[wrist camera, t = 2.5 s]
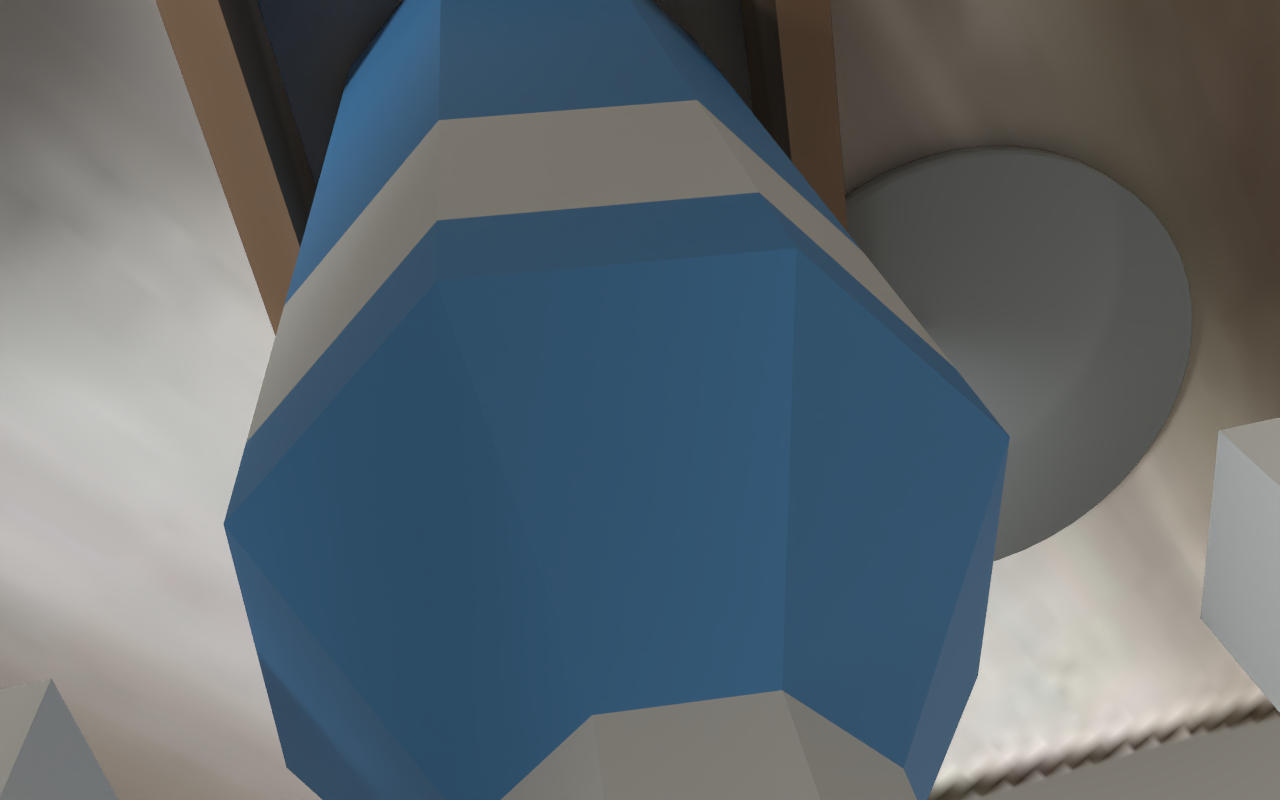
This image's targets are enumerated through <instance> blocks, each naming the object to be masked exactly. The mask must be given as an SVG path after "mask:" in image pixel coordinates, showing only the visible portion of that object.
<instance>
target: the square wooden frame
mask: <svg viewBox="0 0 1280 800" xmlns="http://www.w3.org/2000/svg"><path fill="white" fill-rule="evenodd" d="M156 3H157V5H158V8H159V11H160V14H161V17H162V19H163V22H164V25H165V28H166V31H167V33H168V36H169V39H170V42H171V45H172V47H173V50H174V53H175V56H176V59H177V61H178V64H179V67H180V70H181V73H182V75H183V78H184V81H185V84H186V87H187V89H188V92H189V95H190V98H191V101H192V103H193V106H194V109H195V112H196V115H197V117H198V120H199V123H200V126H201V129H202V131H203V134H204V137H205V140H206V143H207V145H208V148H209V151H210V154H211V156H212V159H213V162H214V165H215V168H216V170H217V173H218V176H219V179H220V182H221V184H222V187H223V190H224V193H225V196H226V198H227V201H228V204H229V207H230V210H231V212H232V215H233V218H234V221H235V224H236V226H237V229H238V232H239V235H240V238H241V240H242V243H243V246H244V249H245V252H246V254H247V257H248V260H249V263H250V266H251V268H252V271H253V274H254V277H255V280H256V282H257V285H258V288H259V291H260V294H261V296H262V299H263V302H264V305H265V308H266V310H267V313H268V316H269V319H270V322H271V324H272V327H273V330H274V333H275V336H276V333H277V330H278V326H279V323H280V319H281V315H282V312H283V308H284V305H285V301H286V297H287V294H288V290H289V286H290V283H291V279H292V276H293V272H294V268H295V265H296V261H297V258H298V254H299V250H300V247H301V243H302V240H303V236H304V232H305V229H306V225H307V221H308V218H309V214H310V211H311V207H312V203H313V200H314V196H315V193H316V186H315V183H314V179H313V176H312V173H311V170H310V167H309V164H308V160H307V157H306V154H305V151H304V148H303V145H302V141H301V138H300V135H299V132H298V129H297V126H296V122H295V119H294V116H293V113H292V110H291V106H290V103H289V100H288V97H287V94H286V91H285V87H284V84H283V81H282V78H281V75H280V72H279V68H278V65H277V62H276V59H275V56H274V53H273V49H272V46H271V43H270V40H269V37H268V34H267V30H266V27H265V24H264V21H263V18H262V15H261V11H260V8H259V5H258V2H257V0H156ZM741 7H742V16H743V25H744V33H745V42H746V51H747V59H748V68H749V77H750V86H751V94H752V103H753V112H754V115H755V116H756V118H757V119H758V120H759V121H760V123H761V124H762V125H763V126H764V128H765V129H766V130H767V132H768V133H769V134H770V135H771V137H772V138H773V139H774V140H775V142H776V143H777V144H778V145H779V147H780V148H781V149H782V150H783V152H784V153H785V154H786V155H787V157H788V158H789V159H790V160H791V162H792V163H793V164H794V166H795V167H796V168H797V169H798V171H799V172H800V173H801V174H802V176H803V177H804V178H805V179H806V181H807V182H808V183H809V184H810V186H811V187H812V188H813V189H814V191H815V192H816V193H817V195H818V196H819V197H820V198H821V200H822V201H823V202H824V203H825V205H826V206H827V207H828V208H829V210H830V211H831V212H832V213H833V215H834V216H835V217H836V218H837V220H838V221H839V222H840V223H841V225H842V226H843V227H844V229H845V230H846V231H847V232H848V228H847V215H846V203H845V190H844V177H843V164H842V151H841V138H840V125H839V112H838V99H837V86H836V73H835V61H834V48H833V35H832V22H831V9H830V0H741Z"/></svg>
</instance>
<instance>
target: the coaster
mask: <svg viewBox="0 0 1280 800" xmlns="http://www.w3.org/2000/svg"><path fill="white" fill-rule="evenodd" d="M845 203H846V215H847V228H848V234H849V235H850V236H851V237H852V239H853V240H854V241H855V242H856V244H857V245H858V246H859V247H860V249H861V250H862V251H863V252H864V254H865V255H866V256H867V257H868V259H869V260H870V261H871V263H872V264H873V265H874V266H875V268H876V269H877V270H878V271H879V273H880V274H881V275H882V276H883V278H884V279H885V280H886V281H887V283H888V284H889V285H890V286H891V288H892V289H893V290H894V291H895V293H896V294H897V295H898V297H899V298H900V299H901V300H902V302H903V303H904V304H905V305H906V307H907V308H908V309H909V310H910V312H911V313H912V314H913V315H914V317H915V318H916V319H917V320H918V322H919V323H920V324H921V325H922V327H923V328H924V329H925V331H926V332H927V333H928V334H929V336H930V337H931V338H932V339H933V341H934V342H935V343H936V344H937V346H938V347H939V348H940V349H941V351H942V352H943V353H944V354H945V356H946V357H947V358H948V359H949V361H950V362H951V363H952V365H953V366H954V367H955V368H956V370H957V371H958V372H959V373H960V375H961V376H962V377H963V378H964V380H965V381H966V382H967V383H968V385H969V386H970V387H971V388H972V390H973V391H974V392H975V393H976V395H977V396H978V397H979V399H980V400H981V401H982V402H983V404H984V405H985V406H986V407H987V409H988V410H989V411H990V412H991V414H992V415H993V416H994V417H995V419H996V420H997V421H998V422H999V424H1000V425H1001V426H1002V427H1003V429H1004V430H1005V431H1006V433H1007V434H1008V435H1009V436H1010V440H1009V448H1008V455H1007V462H1006V470H1005V477H1004V485H1003V492H1002V499H1001V507H1000V514H999V522H998V529H997V536H996V544H995V551H994V559H993V561H996V560H999V559H1001V558H1004V557H1007V556H1009V555H1012V554H1014V553H1017V552H1020V551H1022V550H1025V549H1027V548H1029V547H1031V546H1033V545H1035V544H1037V543H1039V542H1041V541H1043V540H1045V539H1047V538H1049V537H1051V536H1052V535H1054V534H1055V533H1057V532H1059V531H1060V530H1062V529H1064V528H1065V527H1067V526H1068V525H1070V524H1072V523H1073V522H1075V521H1076V520H1077V519H1079V518H1080V517H1081V516H1083V515H1084V514H1085V513H1087V512H1088V511H1089V510H1091V509H1092V508H1093V507H1094V506H1096V505H1097V504H1098V503H1099V502H1100V501H1101V500H1103V499H1104V498H1105V497H1106V496H1107V495H1108V494H1109V493H1110V492H1111V491H1112V490H1113V489H1114V488H1116V487H1117V486H1118V485H1119V484H1120V483H1121V481H1122V480H1123V479H1124V478H1125V477H1126V476H1127V475H1128V474H1129V472H1130V471H1131V470H1132V469H1133V468H1134V467H1135V466H1136V465H1137V463H1138V462H1139V461H1140V459H1141V458H1142V457H1143V455H1144V454H1145V453H1146V451H1147V450H1148V448H1149V447H1150V446H1151V444H1152V443H1153V441H1154V440H1155V438H1156V437H1157V435H1158V433H1159V431H1160V430H1161V428H1162V426H1163V424H1164V423H1165V421H1166V419H1167V417H1168V416H1169V414H1170V411H1171V409H1172V407H1173V404H1174V402H1175V400H1176V397H1177V395H1178V392H1179V390H1180V387H1181V384H1182V380H1183V377H1184V374H1185V370H1186V367H1187V363H1188V357H1189V351H1190V344H1191V338H1192V304H1191V297H1190V289H1189V283H1188V279H1187V276H1186V273H1185V269H1184V266H1183V263H1182V260H1181V257H1180V255H1179V253H1178V251H1177V249H1176V247H1175V245H1174V243H1173V241H1172V239H1171V237H1170V235H1169V233H1168V232H1167V231H1166V229H1165V228H1164V227H1163V225H1162V224H1161V223H1160V221H1159V220H1158V218H1157V217H1156V216H1155V214H1154V213H1153V212H1152V211H1151V210H1150V209H1149V208H1148V207H1147V206H1146V205H1145V204H1143V203H1142V202H1141V201H1140V200H1139V199H1138V198H1137V197H1136V196H1135V195H1134V194H1133V193H1131V192H1130V191H1128V190H1127V189H1125V188H1124V187H1122V186H1121V185H1119V184H1118V183H1116V182H1115V181H1113V180H1112V179H1110V178H1109V177H1108V176H1106V175H1105V174H1103V173H1102V172H1100V171H1099V170H1097V169H1095V168H1093V167H1090V166H1088V165H1086V164H1084V163H1082V162H1080V161H1077V160H1075V159H1073V158H1070V157H1067V156H1063V155H1060V154H1056V153H1052V152H1049V151H1045V150H1040V149H1032V148H1024V147H1017V146H981V147H974V148H967V149H960V150H952V151H947V152H944V153H940V154H936V155H933V156H929V157H925V158H921V159H918V160H915V161H913V162H910V163H908V164H905V165H903V166H900V167H898V168H895V169H893V170H890V171H888V172H886V173H884V174H882V175H880V176H878V177H876V178H875V179H873V180H871V181H869V182H867V183H865V184H864V185H862V186H860V187H858V188H856V189H855V190H853V191H852V192H850V193H849V194H848V195H846V196H845Z"/></svg>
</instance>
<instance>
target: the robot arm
mask: <svg viewBox="0 0 1280 800" xmlns="http://www.w3.org/2000/svg"><path fill="white" fill-rule="evenodd" d="M1201 619H1202V620H1203V622H1204V623H1205V624H1206V625H1207V626H1208V628H1209V629H1210V630H1211V631H1212V632H1213V634H1214V635H1215V636H1216V637H1217V638H1218V640H1219V641H1220V642H1221V643H1222V644H1223V646H1224V647H1225V648H1226V649H1227V650H1228V651H1229V653H1230V654H1231V655H1232V656H1233V657H1234V659H1235V660H1236V661H1237V662H1238V663H1239V665H1240V666H1241V667H1242V668H1243V669H1244V671H1245V672H1246V673H1247V674H1248V675H1249V677H1250V678H1251V679H1252V680H1253V681H1254V682H1255V684H1256V685H1257V686H1258V687H1259V688H1260V690H1261V691H1262V692H1263V693H1264V694H1265V696H1266V697H1267V698H1268V699H1269V700H1270V702H1271V703H1272V704H1273V705H1274V706H1275V708H1276V709H1277V710H1278V711H1279V712H1280V418H1275V419H1270V420H1265V421H1261V422H1256V423H1251V424H1247V425H1242V426H1237V427H1232V428H1228V429H1223V430H1219V431H1218V442H1217V452H1216V462H1215V473H1214V483H1213V493H1212V504H1211V514H1210V525H1209V535H1208V545H1207V556H1206V566H1205V576H1204V587H1203V597H1202V607H1201ZM0 800H118V798H117V797H116V795H115V793H114V791H113V789H112V788H111V786H110V784H109V782H108V780H107V778H106V777H105V775H104V773H103V771H102V769H101V768H100V766H99V764H98V762H97V760H96V758H95V757H94V755H93V753H92V751H91V749H90V748H89V746H88V744H87V742H86V740H85V739H84V737H83V735H82V733H81V731H80V729H79V728H78V726H77V724H76V722H75V720H74V719H73V717H72V715H71V713H70V711H69V709H68V708H67V706H66V704H65V702H64V700H63V699H62V697H61V695H60V693H59V691H58V690H57V688H56V686H55V684H54V682H53V680H52V679H46V680H41V681H37V682H32V683H27V684H23V685H18V686H13V687H8V688H4V689H0Z"/></svg>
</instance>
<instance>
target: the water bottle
mask: <svg viewBox="0 0 1280 800" xmlns="http://www.w3.org/2000/svg"><path fill="white" fill-rule="evenodd" d="M1009 440H1010V436H1009V435H1008V434H1007V433H1006V431H1005V430H1004V429H1003V427H1002V426H1001V425H1000V424H999V422H998V421H997V420H996V419H995V417H994V416H993V415H992V414H991V412H990V411H989V410H988V409H987V407H986V406H985V405H984V404H983V402H982V401H981V400H980V399H979V397H978V396H977V395H976V393H975V392H974V391H973V390H972V388H971V387H970V386H969V385H968V383H967V382H966V381H965V380H964V378H963V377H962V376H961V375H960V373H959V372H958V371H957V370H956V368H955V367H954V366H953V365H952V363H951V362H950V361H949V359H948V358H947V357H946V356H945V354H944V353H943V352H942V351H941V349H940V348H939V347H938V346H937V344H936V343H935V342H934V341H933V339H932V338H931V337H930V336H929V334H928V333H927V332H926V331H925V329H924V328H923V327H922V325H921V324H920V323H919V322H918V320H917V319H916V318H915V317H914V315H913V314H912V313H911V312H910V310H909V309H908V308H907V307H906V305H905V304H904V303H903V302H902V300H901V299H900V298H899V297H898V295H897V294H896V293H895V291H894V290H893V289H892V288H891V286H890V285H889V284H888V283H887V281H886V280H885V279H884V278H883V276H882V275H881V274H880V273H879V271H878V270H877V269H876V268H875V266H874V265H873V264H872V263H871V261H870V260H869V259H868V257H867V256H866V255H865V254H864V252H863V251H862V250H861V249H860V247H859V246H858V245H857V244H856V242H855V241H854V240H853V239H852V237H851V236H850V235H849V234H848V232H847V231H846V230H845V229H844V227H843V226H842V225H841V223H840V222H839V221H838V220H837V218H836V217H835V216H834V215H833V213H832V212H831V211H830V210H829V208H828V207H827V206H826V205H825V203H824V202H823V201H822V200H821V198H820V197H819V196H818V195H817V193H816V192H815V191H814V189H813V188H812V187H811V186H810V184H809V183H808V182H807V181H806V179H805V178H804V177H803V176H802V174H801V173H800V172H799V171H798V169H797V168H796V167H795V166H794V164H793V163H792V162H791V160H790V159H789V158H788V157H787V155H786V154H785V153H784V152H783V150H782V149H781V148H780V147H779V145H778V144H777V143H776V142H775V140H774V139H773V138H772V137H771V135H770V134H769V133H768V132H767V130H766V129H765V128H764V126H763V125H762V124H761V123H760V121H759V120H758V119H757V118H756V116H755V115H754V114H753V113H752V111H751V110H750V109H749V108H748V106H747V105H746V104H745V103H744V101H743V100H742V99H741V98H740V96H739V95H738V94H737V92H736V91H735V90H734V89H733V87H732V86H731V85H730V84H729V82H728V81H727V80H726V79H725V77H724V76H723V75H722V74H721V72H720V71H719V70H718V69H717V67H716V66H715V65H714V64H713V62H712V61H711V60H710V58H709V57H708V56H707V55H706V53H705V52H704V51H703V50H702V48H701V47H700V46H699V45H698V43H697V42H696V41H695V40H694V39H693V38H692V37H691V36H690V35H689V34H687V33H686V32H685V31H684V30H683V29H682V28H681V27H680V26H679V25H678V24H677V23H676V22H675V21H674V20H673V19H672V18H671V17H669V16H668V15H667V14H666V13H665V12H664V11H663V10H662V9H661V8H660V7H659V6H658V5H657V4H656V3H655V2H654V1H653V0H403V1H402V2H401V4H400V5H399V6H398V7H397V9H396V10H395V11H394V12H393V14H392V15H391V16H390V18H389V19H388V20H387V21H386V23H385V24H384V25H383V26H382V28H381V29H380V30H379V31H378V33H377V34H376V35H375V36H374V38H373V39H372V40H371V41H370V43H369V44H368V45H367V47H366V48H365V49H364V50H363V52H362V53H361V54H360V55H359V57H358V58H357V59H356V60H355V62H354V63H353V64H352V65H351V67H350V70H349V73H348V77H347V81H346V84H345V88H344V92H343V95H342V99H341V102H340V106H339V110H338V113H337V117H336V120H335V124H334V128H333V131H332V135H331V138H330V142H329V146H328V149H327V153H326V156H325V160H324V164H323V167H322V171H321V175H320V178H319V182H318V185H317V189H316V193H315V196H314V200H313V203H312V207H311V211H310V214H309V218H308V221H307V225H306V229H305V232H304V236H303V240H302V243H301V247H300V250H299V254H298V258H297V261H296V265H295V268H294V272H293V276H292V279H291V283H290V286H289V290H288V294H287V297H286V301H285V305H284V308H283V312H282V315H281V319H280V323H279V326H278V330H277V333H276V337H275V341H274V344H273V348H272V351H271V355H270V359H269V362H268V366H267V370H266V373H265V377H264V380H263V384H262V388H261V391H260V395H259V398H258V402H257V406H256V409H255V413H254V416H253V420H252V424H251V427H250V431H249V434H248V438H247V442H246V445H245V449H244V453H243V456H242V460H241V463H240V467H239V471H238V474H237V478H236V481H235V485H234V489H233V492H232V496H231V499H230V503H229V507H228V510H227V514H226V518H225V521H224V528H225V531H226V535H227V539H228V543H229V547H230V551H231V554H232V558H233V562H234V566H235V570H236V574H237V578H238V581H239V585H240V589H241V593H242V597H243V601H244V605H245V608H246V612H247V616H248V620H249V624H250V628H251V632H252V635H253V639H254V643H255V647H256V651H257V655H258V659H259V662H260V666H261V670H262V674H263V678H264V682H265V686H266V689H267V693H268V697H269V701H270V705H271V709H272V713H273V716H274V720H275V724H276V728H277V732H278V736H279V740H280V743H281V747H282V751H283V755H284V759H285V763H286V767H287V768H288V769H289V770H290V771H291V772H292V773H294V774H295V775H296V776H297V777H298V778H299V779H300V780H301V781H302V782H304V783H305V784H306V785H307V786H308V787H309V788H310V789H311V790H312V791H313V792H315V793H316V794H317V795H318V796H319V797H320V798H321V799H322V800H928V797H929V795H930V792H931V790H932V787H933V785H934V782H935V780H936V777H937V775H938V772H939V770H940V768H941V765H942V763H943V760H944V758H945V755H946V753H947V750H948V748H949V745H950V743H951V740H952V738H953V735H954V733H955V731H956V728H957V726H958V723H959V721H960V718H961V716H962V713H963V711H964V708H965V706H966V703H967V701H968V699H969V696H970V694H971V691H972V689H973V686H974V684H975V681H976V679H977V676H978V670H979V662H980V655H981V648H982V640H983V633H984V625H985V618H986V611H987V603H988V596H989V588H990V581H991V574H992V566H993V559H994V551H995V544H996V536H997V529H998V522H999V514H1000V507H1001V499H1002V492H1003V485H1004V477H1005V470H1006V462H1007V455H1008V448H1009Z"/></svg>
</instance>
